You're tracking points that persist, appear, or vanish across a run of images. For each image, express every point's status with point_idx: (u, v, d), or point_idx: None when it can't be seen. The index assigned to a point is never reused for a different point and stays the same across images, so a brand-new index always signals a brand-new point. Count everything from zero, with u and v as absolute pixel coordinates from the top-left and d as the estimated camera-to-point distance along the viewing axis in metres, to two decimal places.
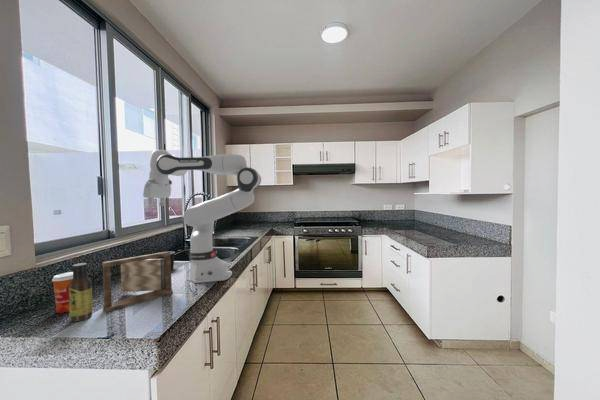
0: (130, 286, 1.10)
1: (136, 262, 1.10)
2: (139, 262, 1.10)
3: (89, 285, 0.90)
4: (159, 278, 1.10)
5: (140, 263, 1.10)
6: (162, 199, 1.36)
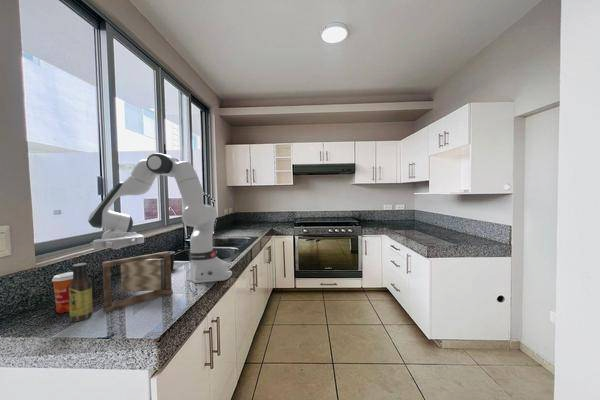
0: (130, 286, 1.10)
1: (136, 262, 1.10)
2: (139, 262, 1.10)
3: (89, 285, 0.90)
4: (159, 278, 1.10)
5: (140, 263, 1.10)
6: None
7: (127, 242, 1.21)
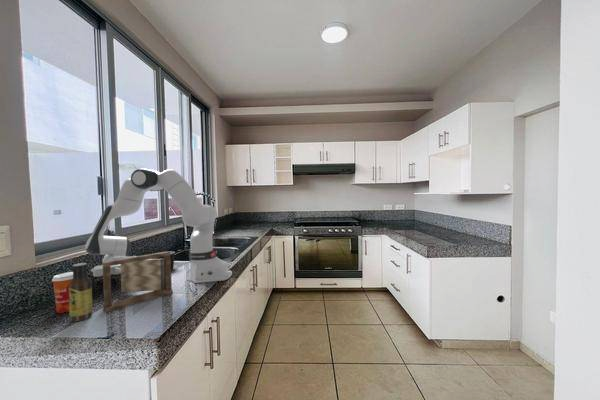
0: (130, 286, 1.10)
1: (136, 262, 1.10)
2: (139, 262, 1.10)
3: (89, 285, 0.90)
4: (159, 278, 1.10)
5: (140, 263, 1.10)
6: None
7: None
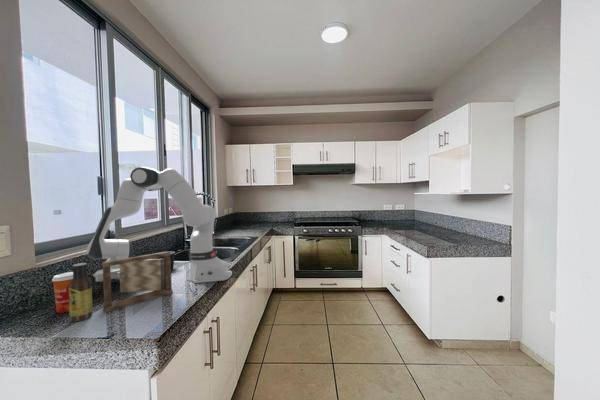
0: (129, 287, 1.09)
1: (136, 262, 1.09)
2: (139, 262, 1.09)
3: (89, 285, 0.90)
4: (159, 278, 1.10)
5: (140, 263, 1.09)
6: None
7: None
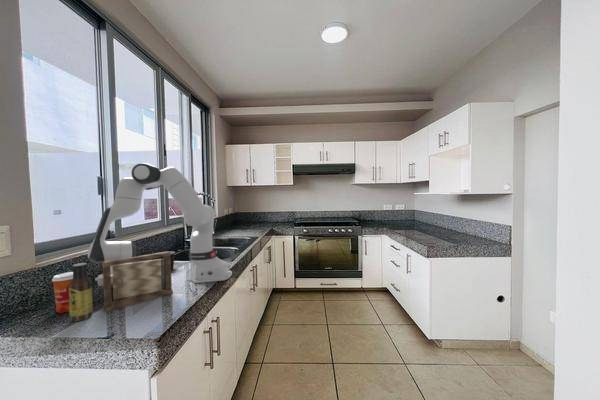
0: (125, 292, 1.03)
1: (132, 265, 1.05)
2: (136, 264, 1.05)
3: (89, 285, 0.90)
4: (160, 278, 1.10)
5: (137, 266, 1.06)
6: None
7: None
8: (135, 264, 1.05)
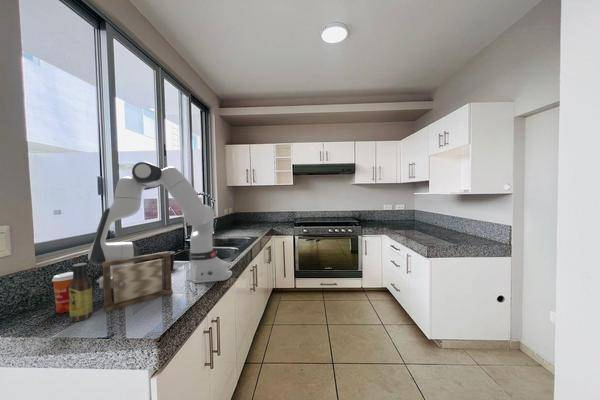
0: (126, 295, 1.00)
1: (134, 267, 1.02)
2: (138, 266, 1.03)
3: (89, 285, 0.90)
4: (160, 278, 1.10)
5: (139, 267, 1.04)
6: None
7: None
8: (136, 265, 1.03)
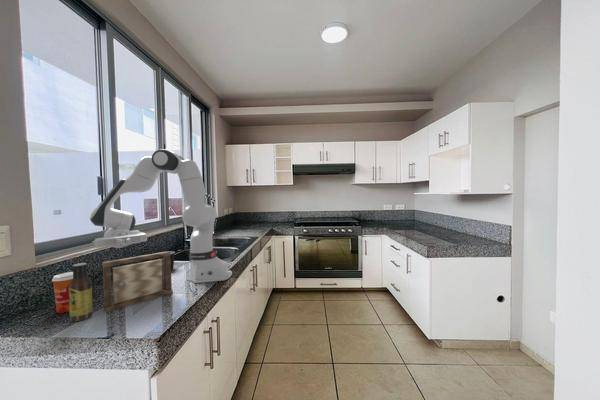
0: (126, 295, 1.00)
1: (134, 267, 1.02)
2: (138, 266, 1.03)
3: (89, 285, 0.90)
4: (160, 278, 1.10)
5: (139, 267, 1.04)
6: None
7: (130, 240, 1.17)
8: (136, 265, 1.03)
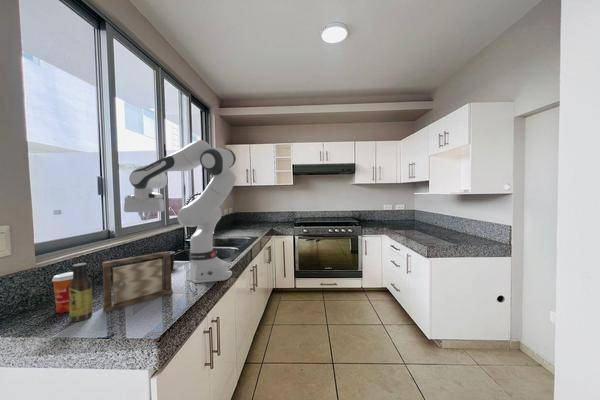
0: (126, 295, 1.00)
1: (134, 267, 1.02)
2: (138, 266, 1.03)
3: (89, 285, 0.90)
4: (160, 278, 1.10)
5: (139, 267, 1.04)
6: None
7: None
8: (136, 265, 1.03)
